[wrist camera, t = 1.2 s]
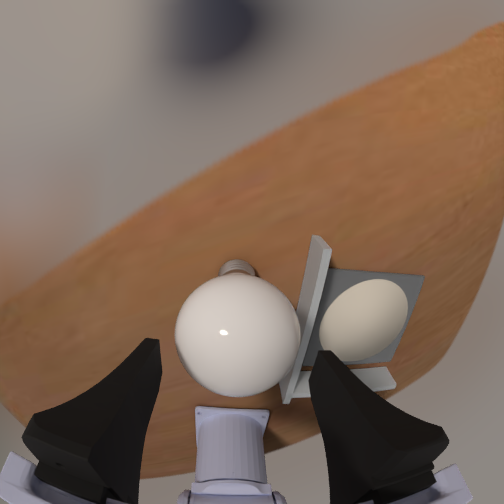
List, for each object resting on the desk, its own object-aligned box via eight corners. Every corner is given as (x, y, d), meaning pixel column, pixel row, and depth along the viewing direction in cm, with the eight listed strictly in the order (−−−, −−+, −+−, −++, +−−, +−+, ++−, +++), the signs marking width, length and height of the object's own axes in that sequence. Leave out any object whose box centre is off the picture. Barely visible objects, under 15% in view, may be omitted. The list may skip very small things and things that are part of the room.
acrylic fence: (380, 376, 27) (390, 394, 24) (278, 381, 26) (282, 403, 23) (430, 250, 22) (450, 262, 19) (312, 235, 20) (323, 248, 18)
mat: (389, 359, 26) (390, 361, 25) (302, 363, 25) (302, 366, 25) (423, 275, 22) (425, 277, 22) (327, 268, 22) (329, 269, 21)
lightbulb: (293, 252, 21) (341, 346, 11) (256, 318, 23) (270, 430, 12) (213, 217, 20) (189, 294, 9) (183, 291, 22) (150, 398, 11)
